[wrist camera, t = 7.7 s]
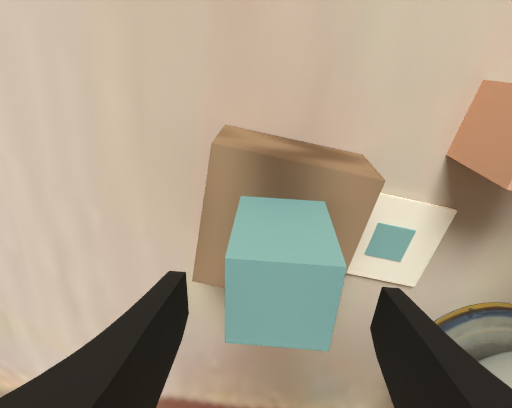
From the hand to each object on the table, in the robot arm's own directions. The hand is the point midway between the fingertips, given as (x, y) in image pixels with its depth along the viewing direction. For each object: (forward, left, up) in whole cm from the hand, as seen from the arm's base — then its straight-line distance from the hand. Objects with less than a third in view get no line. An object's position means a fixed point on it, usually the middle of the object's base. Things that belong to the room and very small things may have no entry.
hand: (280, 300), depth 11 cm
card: (-7, +1, -8) cm, 11 cm away
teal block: (0, 0, -4) cm, 5 cm away
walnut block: (0, 0, -8) cm, 8 cm away
